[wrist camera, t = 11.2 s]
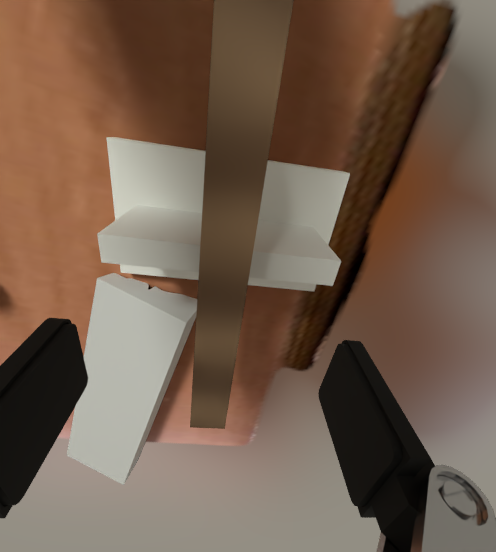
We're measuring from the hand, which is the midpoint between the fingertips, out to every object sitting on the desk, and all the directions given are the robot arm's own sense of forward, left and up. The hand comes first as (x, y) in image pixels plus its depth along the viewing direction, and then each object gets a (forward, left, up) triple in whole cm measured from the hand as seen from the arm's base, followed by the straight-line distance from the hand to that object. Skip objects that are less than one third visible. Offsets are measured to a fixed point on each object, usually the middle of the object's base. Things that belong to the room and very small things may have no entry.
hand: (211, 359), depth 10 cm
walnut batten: (0, 0, -9) cm, 9 cm away
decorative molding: (+25, -11, -19) cm, 33 cm away
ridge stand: (0, 0, -18) cm, 18 cm away
